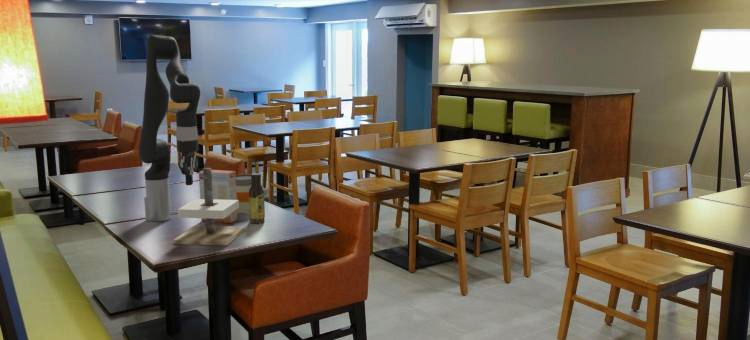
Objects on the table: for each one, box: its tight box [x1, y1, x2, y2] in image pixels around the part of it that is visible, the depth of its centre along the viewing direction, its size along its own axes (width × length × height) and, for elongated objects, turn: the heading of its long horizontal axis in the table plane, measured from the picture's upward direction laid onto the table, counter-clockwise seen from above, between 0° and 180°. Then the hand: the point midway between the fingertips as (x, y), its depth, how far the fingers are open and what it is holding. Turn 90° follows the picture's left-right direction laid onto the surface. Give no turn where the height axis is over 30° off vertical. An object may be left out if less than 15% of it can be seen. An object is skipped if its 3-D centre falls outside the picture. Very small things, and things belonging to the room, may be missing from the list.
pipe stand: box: [173, 167, 246, 246], centre depth 233 cm, size 20×20×26 cm
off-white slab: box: [177, 198, 239, 219], centre depth 233 cm, size 17×17×3 cm
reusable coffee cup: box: [236, 173, 252, 214], centre depth 274 cm, size 13×13×15 cm
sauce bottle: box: [248, 172, 266, 224], centre depth 255 cm, size 7×6×20 cm
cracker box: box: [198, 169, 239, 224], centre depth 257 cm, size 14×6×21 cm, turn 71°
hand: (189, 184), depth 232 cm, fingers closed
